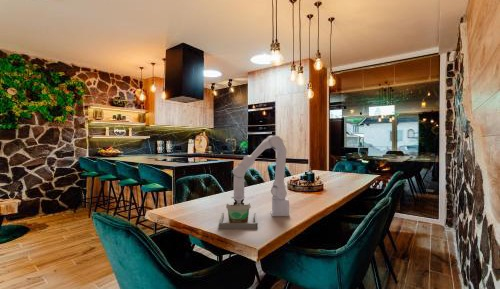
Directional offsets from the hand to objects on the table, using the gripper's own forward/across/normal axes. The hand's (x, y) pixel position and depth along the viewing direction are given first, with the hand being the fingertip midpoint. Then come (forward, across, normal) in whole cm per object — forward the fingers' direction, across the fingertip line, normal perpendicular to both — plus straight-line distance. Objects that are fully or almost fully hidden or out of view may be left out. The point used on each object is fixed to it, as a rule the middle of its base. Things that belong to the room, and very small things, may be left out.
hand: (238, 213), depth 138 cm
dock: (+2, +9, 0) cm, 9 cm away
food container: (+2, +12, 0) cm, 12 cm away
